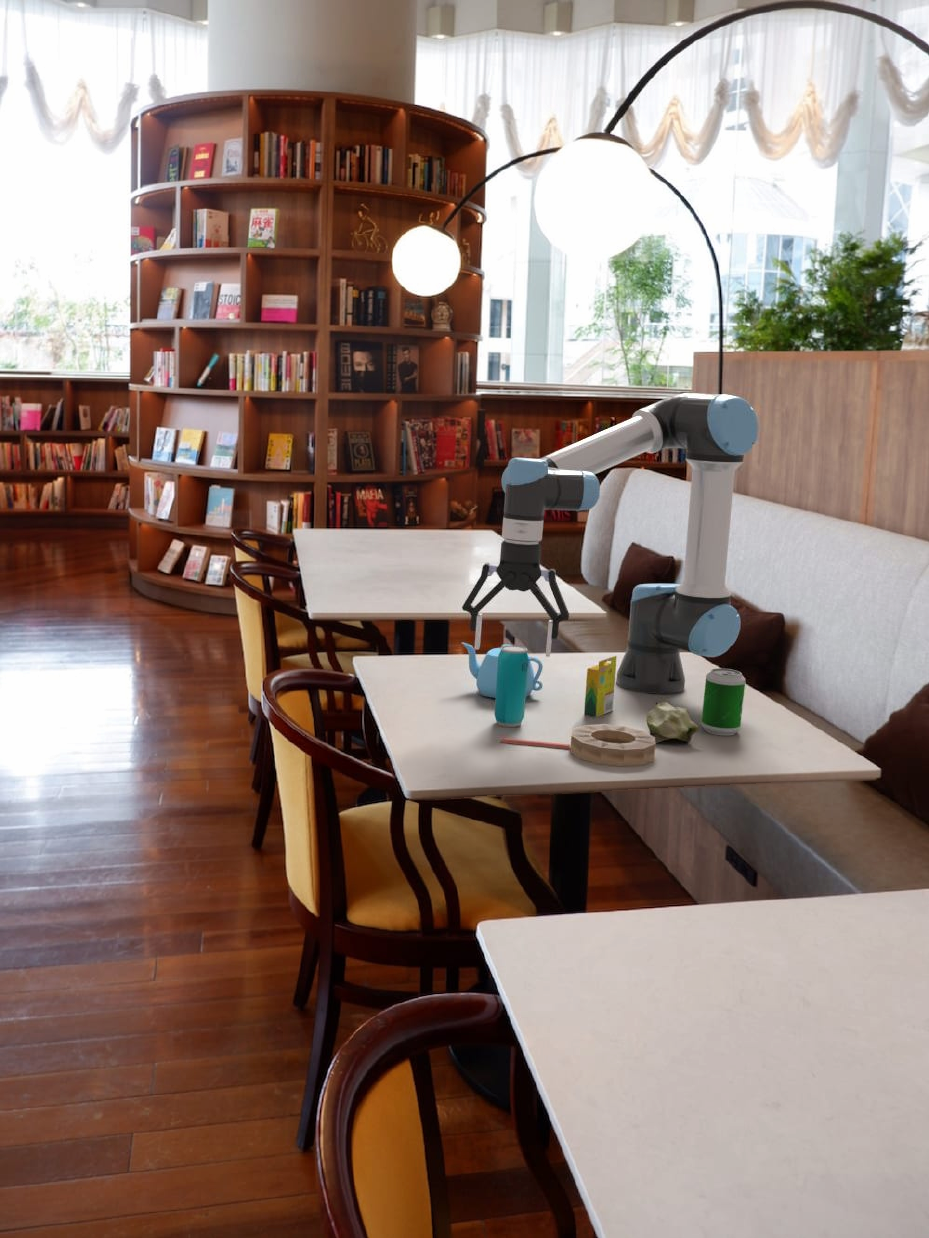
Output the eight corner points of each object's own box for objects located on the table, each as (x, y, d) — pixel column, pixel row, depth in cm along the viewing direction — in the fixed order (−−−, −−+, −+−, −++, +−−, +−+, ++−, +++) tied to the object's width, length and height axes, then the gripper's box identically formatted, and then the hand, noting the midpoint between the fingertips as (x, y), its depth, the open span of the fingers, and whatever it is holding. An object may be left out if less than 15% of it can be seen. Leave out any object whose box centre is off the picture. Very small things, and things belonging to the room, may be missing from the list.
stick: (501, 740, 219) (501, 737, 219) (569, 747, 218) (569, 744, 218) (500, 742, 218) (500, 739, 218) (569, 748, 217) (569, 745, 217)
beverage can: (527, 722, 232) (532, 647, 229) (518, 729, 227) (524, 653, 224) (499, 718, 234) (504, 643, 231) (489, 725, 229) (495, 649, 226)
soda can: (740, 738, 230) (746, 678, 228) (700, 734, 232) (706, 674, 229) (739, 728, 237) (745, 669, 235) (700, 723, 239) (706, 665, 236)
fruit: (639, 739, 231) (645, 698, 231) (687, 746, 231) (693, 705, 231) (648, 744, 221) (654, 701, 221) (697, 751, 222) (703, 709, 221)
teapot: (468, 634, 258) (550, 643, 254) (465, 682, 260) (546, 692, 256) (453, 645, 246) (539, 655, 242) (450, 695, 248) (535, 706, 244)
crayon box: (600, 708, 246) (605, 653, 244) (613, 711, 244) (618, 655, 242) (582, 714, 240) (587, 658, 238) (595, 718, 238) (600, 661, 236)
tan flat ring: (572, 736, 225) (573, 721, 224) (652, 744, 223) (654, 728, 222) (568, 760, 210) (570, 744, 209) (654, 769, 208) (656, 752, 208)
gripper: (452, 537, 221) (445, 649, 225) (587, 549, 218) (577, 662, 222) (458, 533, 228) (450, 641, 232) (588, 544, 226) (578, 653, 230)
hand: (512, 651), depth 227 cm, fingers open, 13 cm apart
